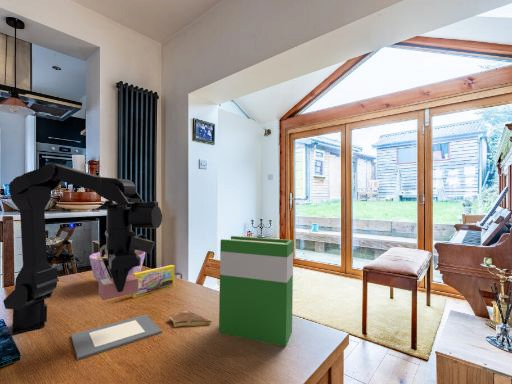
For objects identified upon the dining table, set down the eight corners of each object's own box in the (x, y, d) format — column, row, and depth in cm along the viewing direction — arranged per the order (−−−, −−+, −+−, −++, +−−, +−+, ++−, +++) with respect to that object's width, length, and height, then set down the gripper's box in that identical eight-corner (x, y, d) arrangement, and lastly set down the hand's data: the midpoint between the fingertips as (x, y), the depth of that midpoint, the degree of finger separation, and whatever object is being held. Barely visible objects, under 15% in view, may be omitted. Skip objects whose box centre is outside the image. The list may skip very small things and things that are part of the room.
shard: (211, 326, 72) (211, 319, 72) (188, 337, 66) (188, 330, 66) (187, 314, 79) (187, 308, 79) (164, 324, 73) (164, 317, 73)
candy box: (134, 298, 90) (134, 274, 90) (130, 297, 91) (131, 273, 91) (174, 286, 103) (174, 265, 103) (171, 285, 104) (171, 264, 104)
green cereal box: (218, 333, 68) (220, 239, 68) (230, 320, 75) (232, 235, 76) (285, 346, 62) (287, 244, 63) (292, 331, 69) (293, 240, 70)
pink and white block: (137, 292, 68) (138, 278, 68) (102, 300, 63) (103, 285, 63) (132, 287, 72) (132, 274, 72) (98, 294, 67) (98, 279, 67)
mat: (77, 359, 56) (77, 357, 56) (70, 336, 65) (71, 334, 65) (161, 332, 68) (161, 330, 68) (146, 316, 77) (146, 314, 77)
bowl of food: (106, 295, 92) (107, 262, 92) (78, 285, 102) (78, 255, 103) (155, 280, 109) (155, 252, 109) (126, 272, 119) (127, 247, 120)
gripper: (162, 229, 65) (161, 292, 65) (142, 223, 80) (141, 274, 80) (112, 232, 59) (111, 303, 58) (100, 225, 73) (99, 281, 73)
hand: (118, 288), depth 67 cm, fingers closed on pink and white block, 5 cm apart
